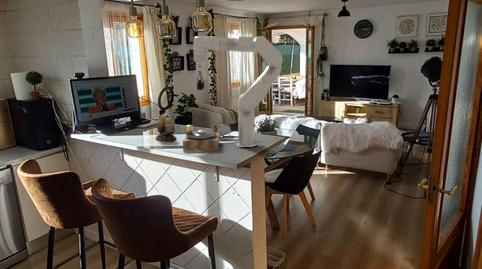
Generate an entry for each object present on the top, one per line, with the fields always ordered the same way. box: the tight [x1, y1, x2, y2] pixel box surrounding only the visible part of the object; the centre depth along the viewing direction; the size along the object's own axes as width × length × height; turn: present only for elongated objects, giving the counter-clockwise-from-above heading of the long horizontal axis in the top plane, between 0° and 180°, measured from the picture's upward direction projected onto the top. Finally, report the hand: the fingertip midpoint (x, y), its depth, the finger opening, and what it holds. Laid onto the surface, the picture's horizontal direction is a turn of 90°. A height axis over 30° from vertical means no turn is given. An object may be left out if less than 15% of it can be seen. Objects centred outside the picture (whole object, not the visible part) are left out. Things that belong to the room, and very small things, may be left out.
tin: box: [213, 123, 232, 137], centre depth 233 cm, size 15×3×8 cm, turn 141°
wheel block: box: [182, 133, 220, 152], centre depth 210 cm, size 20×20×6 cm
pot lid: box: [185, 124, 216, 139], centre depth 208 cm, size 18×18×6 cm
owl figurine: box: [155, 113, 177, 143], centre depth 228 cm, size 18×12×17 cm, turn 47°
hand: (200, 89), depth 202 cm, fingers open, 9 cm apart
